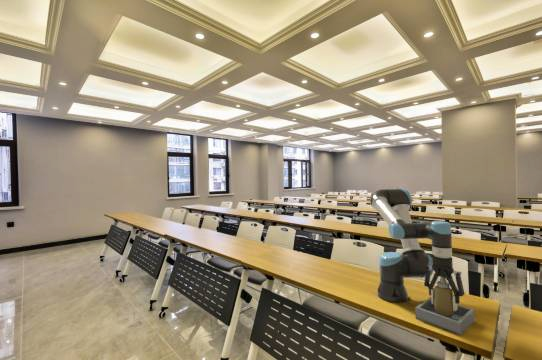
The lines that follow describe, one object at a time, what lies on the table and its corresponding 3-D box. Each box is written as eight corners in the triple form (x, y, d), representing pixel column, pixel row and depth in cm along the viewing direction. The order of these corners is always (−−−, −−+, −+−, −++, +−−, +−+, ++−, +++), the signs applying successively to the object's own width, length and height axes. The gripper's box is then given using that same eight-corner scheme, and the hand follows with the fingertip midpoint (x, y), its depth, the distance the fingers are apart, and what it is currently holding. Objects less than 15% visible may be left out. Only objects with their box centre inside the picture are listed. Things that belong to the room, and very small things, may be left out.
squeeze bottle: (436, 317, 113) (434, 277, 114) (432, 309, 121) (430, 271, 121) (458, 320, 110) (456, 278, 111) (452, 311, 118) (450, 272, 118)
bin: (415, 318, 117) (415, 307, 117) (432, 306, 128) (431, 296, 128) (460, 335, 103) (460, 323, 103) (474, 321, 114) (474, 309, 114)
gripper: (414, 252, 122) (416, 300, 122) (466, 263, 105) (469, 318, 105) (421, 250, 127) (423, 296, 126) (473, 259, 110) (475, 312, 110)
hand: (444, 306), depth 116 cm, fingers closed on squeeze bottle, 8 cm apart
